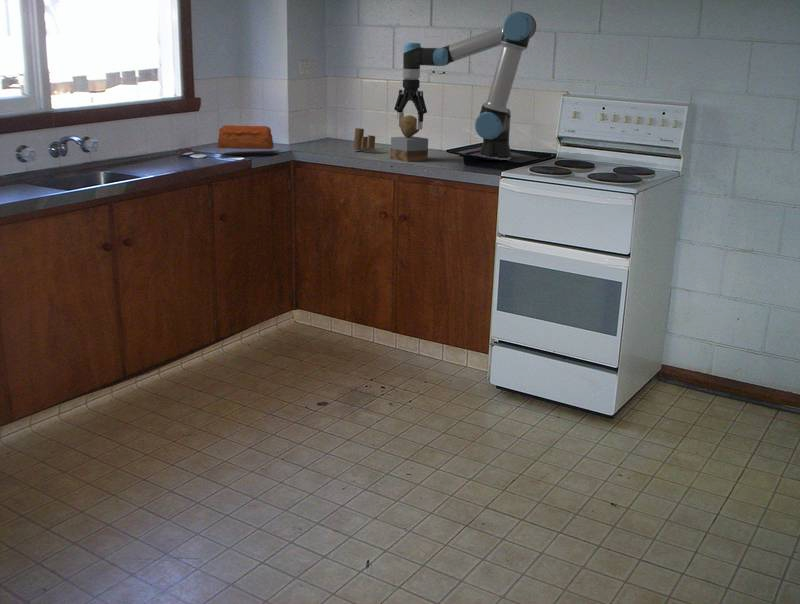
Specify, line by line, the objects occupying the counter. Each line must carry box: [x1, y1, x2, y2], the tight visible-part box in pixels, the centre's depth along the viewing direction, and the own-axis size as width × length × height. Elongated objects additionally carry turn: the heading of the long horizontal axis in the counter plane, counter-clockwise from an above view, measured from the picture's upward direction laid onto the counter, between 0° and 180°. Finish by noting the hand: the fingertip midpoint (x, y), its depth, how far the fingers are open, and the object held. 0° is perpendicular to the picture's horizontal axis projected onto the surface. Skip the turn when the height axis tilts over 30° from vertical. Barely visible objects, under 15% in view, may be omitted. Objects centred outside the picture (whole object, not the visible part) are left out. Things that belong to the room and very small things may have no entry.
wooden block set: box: [353, 127, 376, 151], centre depth 429 cm, size 18×9×10 cm, turn 20°
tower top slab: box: [390, 135, 429, 151], centre depth 397 cm, size 12×12×5 cm
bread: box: [216, 124, 274, 150], centre depth 429 cm, size 16×27×11 cm, turn 94°
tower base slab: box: [389, 148, 429, 163], centre depth 398 cm, size 12×12×5 cm
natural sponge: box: [399, 114, 421, 138], centre depth 395 cm, size 9×9×10 cm
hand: (409, 128), depth 395 cm, fingers open, 12 cm apart
